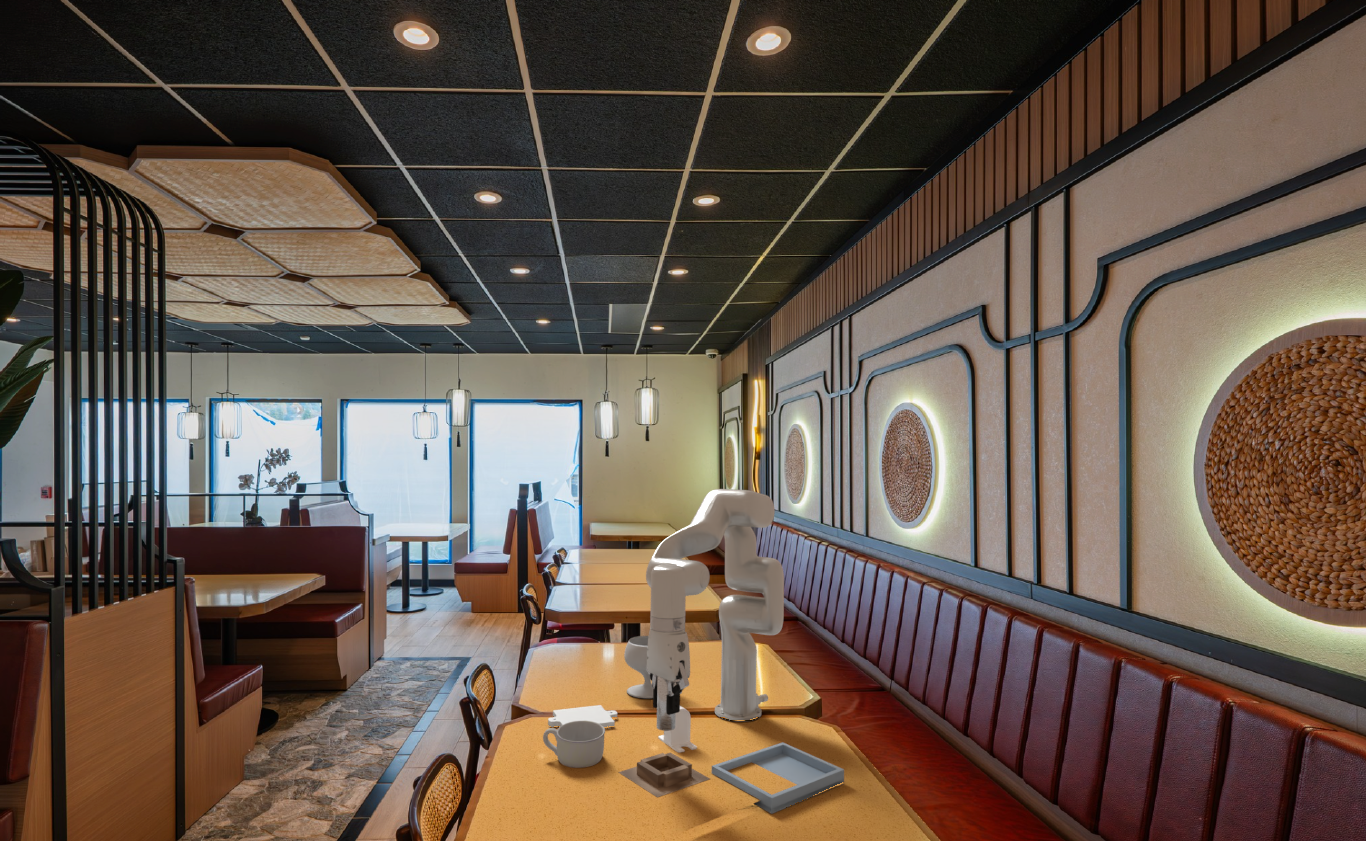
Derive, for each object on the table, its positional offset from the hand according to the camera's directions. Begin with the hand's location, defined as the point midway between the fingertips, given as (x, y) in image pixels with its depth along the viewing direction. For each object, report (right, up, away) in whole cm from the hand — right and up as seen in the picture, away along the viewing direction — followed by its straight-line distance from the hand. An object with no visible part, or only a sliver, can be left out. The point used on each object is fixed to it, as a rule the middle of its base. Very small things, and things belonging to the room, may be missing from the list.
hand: (666, 708), depth 155 cm
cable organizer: (+2, -16, +16) cm, 23 cm away
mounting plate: (-22, -17, +33) cm, 43 cm away
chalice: (-7, -18, +57) cm, 60 cm away
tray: (+24, -16, 0) cm, 29 cm away
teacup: (-21, -15, +7) cm, 27 cm away
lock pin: (0, -4, 0) cm, 4 cm away
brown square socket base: (0, -15, -1) cm, 15 cm away
